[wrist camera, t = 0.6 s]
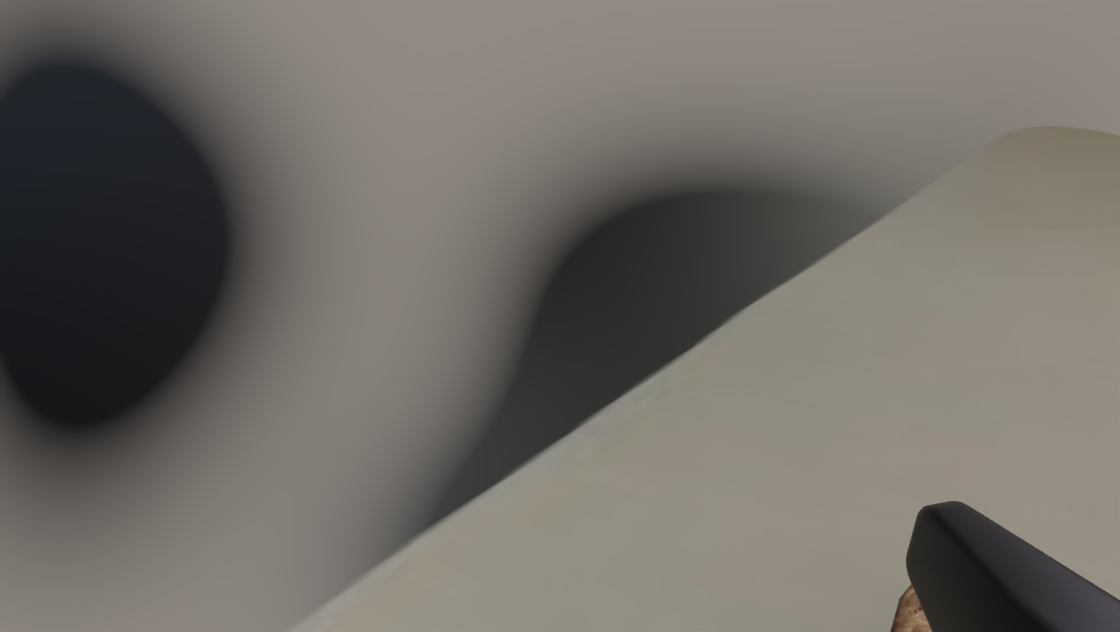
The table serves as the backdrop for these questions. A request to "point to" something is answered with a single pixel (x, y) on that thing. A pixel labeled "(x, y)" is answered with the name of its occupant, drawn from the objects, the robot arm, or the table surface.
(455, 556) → the table surface
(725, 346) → the table surface
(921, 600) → the robot arm
